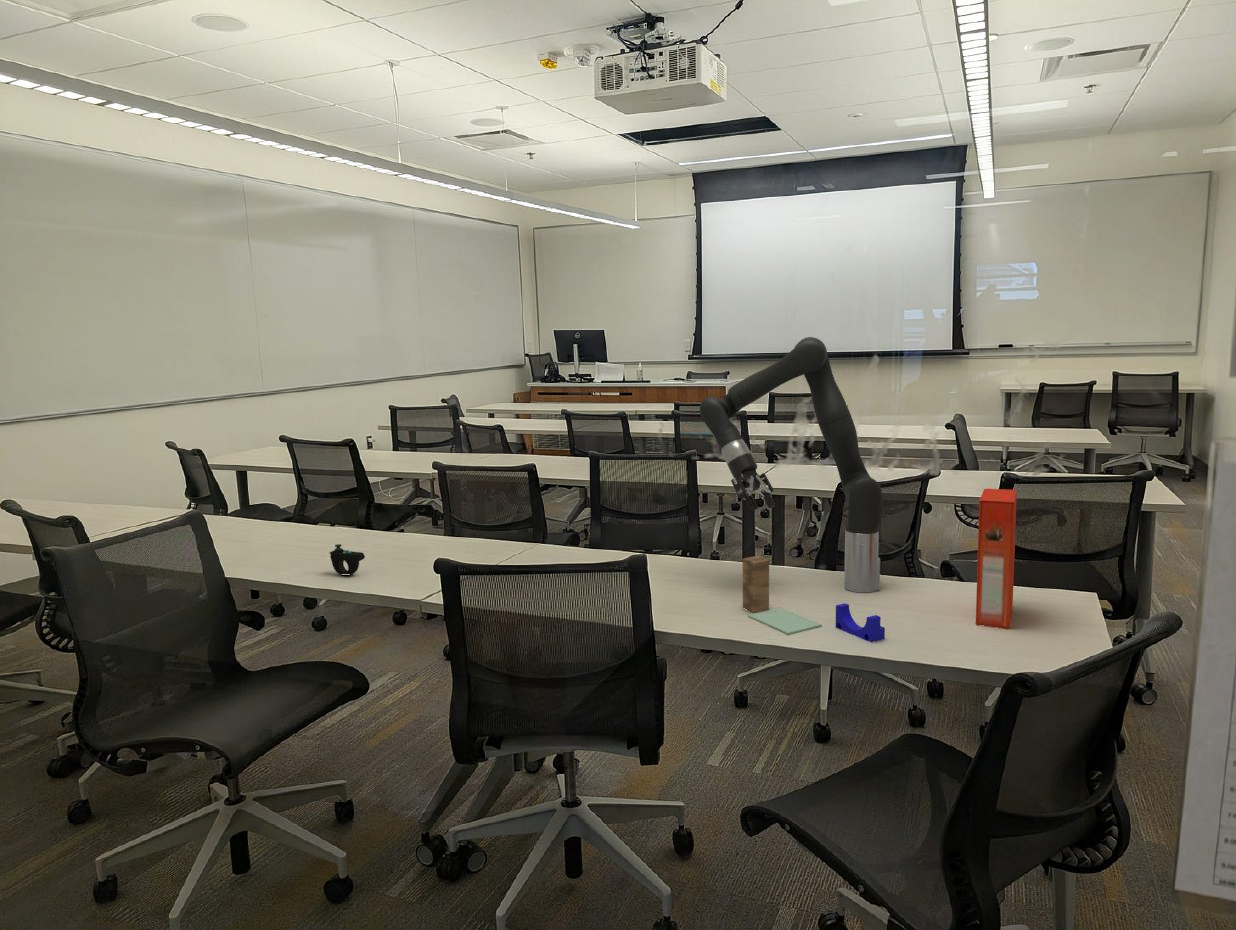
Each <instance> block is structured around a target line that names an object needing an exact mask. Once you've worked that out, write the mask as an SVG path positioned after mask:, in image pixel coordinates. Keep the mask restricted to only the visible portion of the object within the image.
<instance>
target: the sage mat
mask: <svg viewBox="0 0 1236 930" xmlns="http://www.w3.org/2000/svg"><path fill="white" fill-rule="evenodd" d="M749 617H750V618H749ZM747 618H749V619H752V618H753V619H752V620H754V619H755V620H754V621H756V622H759V623H760V624H762V625H765V624H766V625H765V626H767V625H768V626H767V627H770V628H771V629H773V630H774V629H775V630H776V631H778V632H780V633H783V634H785V635H786V636H787V635H789V636H790V635H793V634H796V633H802V632H805V630H806V631H809V630H813V629H817V628H821V627H822V626H823V625H822V624H821V623H818V622H816V621H814V620H811V619H809V618H806V617H804V616H801V615H799V614H797V613H794V612H792V611H790V610H787V609H785V608H782V607H778V608H772V609H769V610H767V611H763V612H758V613H750V614H747Z"/></svg>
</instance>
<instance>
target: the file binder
mask: <svg viewBox="0 0 1236 930" xmlns="http://www.w3.org/2000/svg"><path fill="white" fill-rule="evenodd" d="M1017 495H1018V491H1017V489H1005V488H1003V489H1002V488H1001V489H1000V488H983V491H982V494H981V495H980V498H979V501H978V502H979V503H978V505H979V506H978V508H979V509H978V532H977V533H978V534H977V535H978V536H977V537H978V538H977V541H978V542H977V567H976V568H977V570H976V571H977V572H976V576H977V577H976V597H975V598H976V599H975V600H976V601H975V602H976V604H975V605H976V606H975V607H976V608H975V610H976V611H975V625H976V624H977V625H976V626H979V625H984V626H983V627H987V626H989V628H995V627H998V629H1004V630H1005V629H1006V630H1008V629H1011V624H1012V614H1013V607H1014V606H1013V603H1014V577H1015V555H1016V554H1015V550H1016V525H1017V524H1016V523H1017V521H1016V519H1017V518H1016V517H1017V499H1018V498H1017V497H1018V496H1017ZM990 626H991V627H990Z"/></svg>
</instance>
